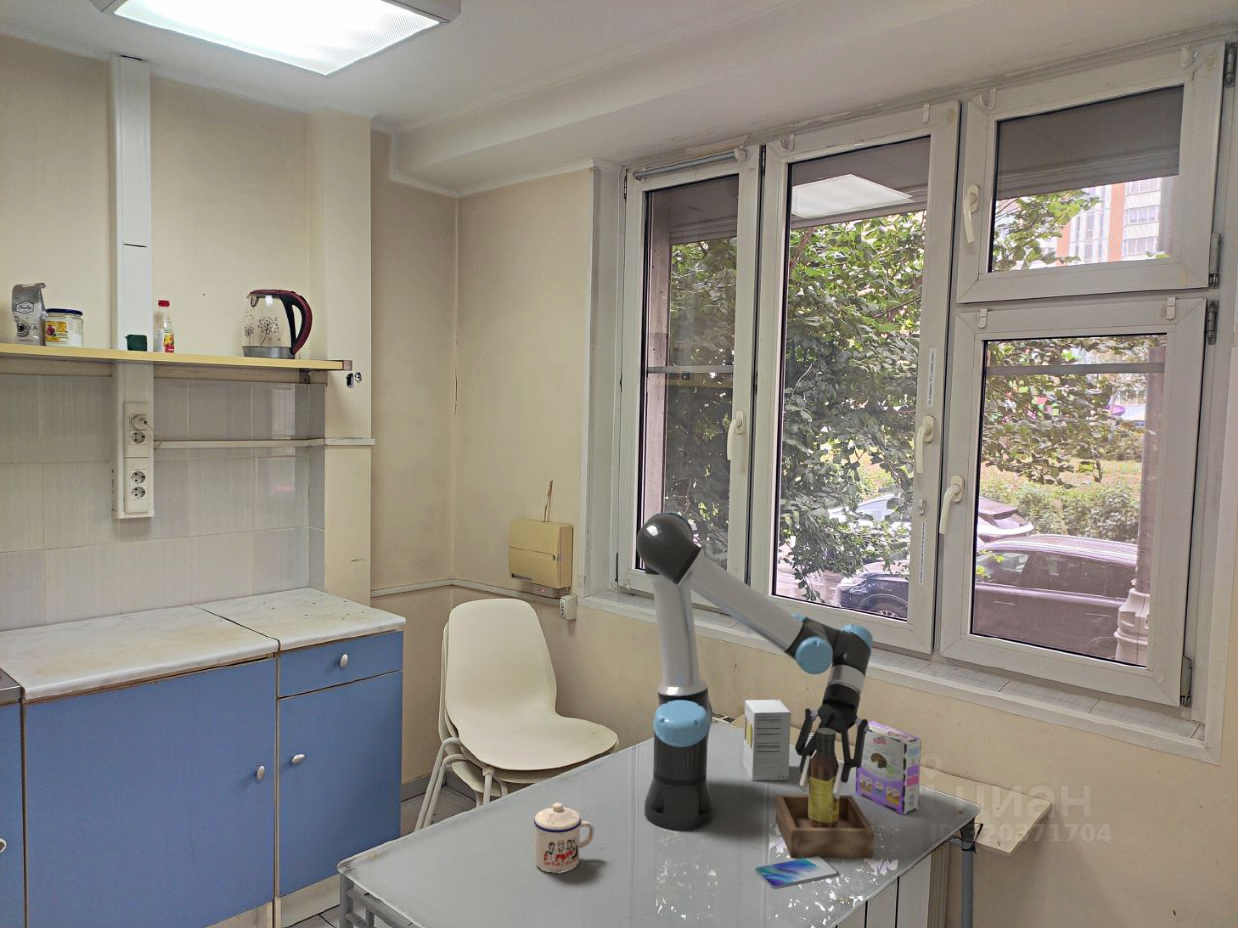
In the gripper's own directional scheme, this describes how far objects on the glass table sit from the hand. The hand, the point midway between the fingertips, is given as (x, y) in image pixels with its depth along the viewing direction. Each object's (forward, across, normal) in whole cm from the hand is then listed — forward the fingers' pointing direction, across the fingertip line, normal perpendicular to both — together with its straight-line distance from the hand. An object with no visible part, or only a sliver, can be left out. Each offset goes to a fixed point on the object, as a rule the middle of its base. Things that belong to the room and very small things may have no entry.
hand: (818, 791), depth 181 cm
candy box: (-12, -7, -28) cm, 32 cm away
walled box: (+5, 0, -10) cm, 12 cm away
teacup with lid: (+31, +40, +15) cm, 53 cm away
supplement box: (-12, +22, -29) cm, 38 cm away
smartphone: (+17, 0, +1) cm, 17 cm away
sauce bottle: (+4, 0, -9) cm, 9 cm away
